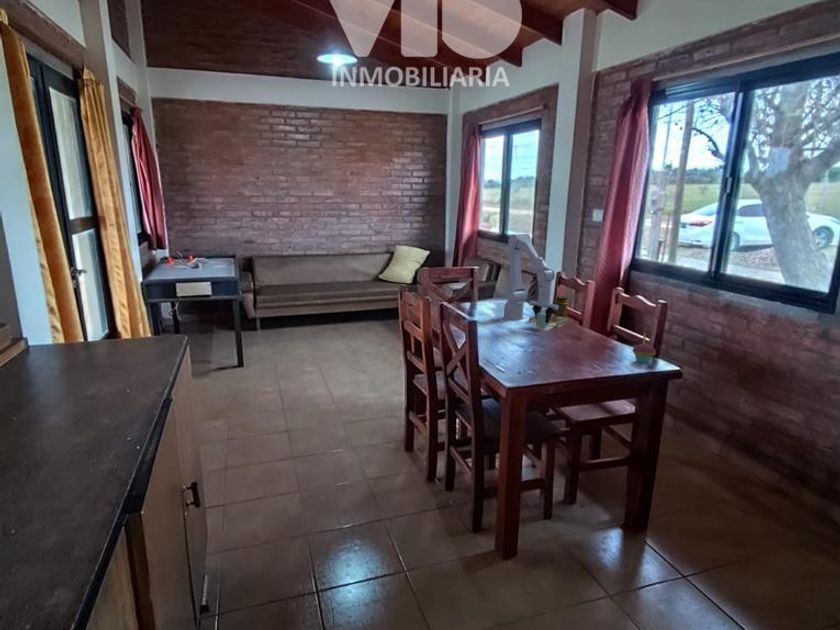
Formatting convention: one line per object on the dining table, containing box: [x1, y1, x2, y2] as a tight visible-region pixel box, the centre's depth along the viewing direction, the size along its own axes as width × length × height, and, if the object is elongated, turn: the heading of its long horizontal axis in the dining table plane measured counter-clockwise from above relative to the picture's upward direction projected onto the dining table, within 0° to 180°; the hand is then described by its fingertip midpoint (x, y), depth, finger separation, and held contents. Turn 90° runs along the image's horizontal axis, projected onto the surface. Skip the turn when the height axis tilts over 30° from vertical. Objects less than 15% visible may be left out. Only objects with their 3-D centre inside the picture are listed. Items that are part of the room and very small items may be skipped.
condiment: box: [553, 295, 568, 318], centre depth 268 cm, size 7×8×12 cm
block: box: [535, 312, 550, 327], centre depth 251 cm, size 4×4×6 cm
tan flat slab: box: [528, 314, 570, 329], centre depth 261 cm, size 16×12×3 cm
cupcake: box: [632, 331, 657, 364], centre depth 205 cm, size 9×8×12 cm
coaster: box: [530, 325, 554, 331], centre depth 252 cm, size 8×8×1 cm
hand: (542, 321), depth 251 cm, fingers closed on block, 4 cm apart
